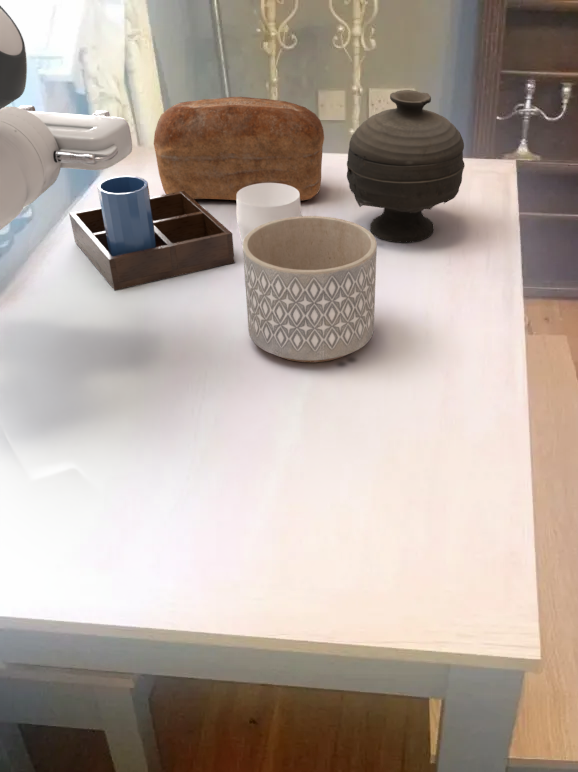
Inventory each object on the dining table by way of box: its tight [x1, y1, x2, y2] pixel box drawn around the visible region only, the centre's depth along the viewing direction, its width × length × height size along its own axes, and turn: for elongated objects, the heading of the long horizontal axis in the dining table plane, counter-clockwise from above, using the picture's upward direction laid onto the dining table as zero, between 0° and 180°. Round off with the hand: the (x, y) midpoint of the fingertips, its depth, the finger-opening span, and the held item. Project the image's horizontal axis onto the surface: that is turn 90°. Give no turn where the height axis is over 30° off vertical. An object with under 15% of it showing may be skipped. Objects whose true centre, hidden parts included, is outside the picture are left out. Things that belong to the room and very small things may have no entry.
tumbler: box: [97, 175, 157, 257], centre depth 128 cm, size 7×7×11 cm
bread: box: [153, 96, 325, 202], centre depth 149 cm, size 12×28×14 cm, turn 88°
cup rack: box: [69, 191, 236, 291], centre depth 136 cm, size 19×19×4 cm
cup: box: [235, 183, 303, 247], centre depth 127 cm, size 9×9×12 cm
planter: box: [242, 215, 378, 363], centre depth 114 cm, size 16×16×13 cm
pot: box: [346, 89, 465, 244], centre depth 137 cm, size 18×18×20 cm
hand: (67, 115), depth 107 cm, fingers open, 8 cm apart
